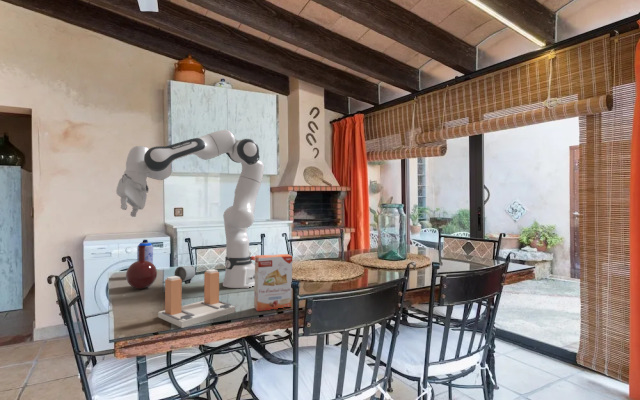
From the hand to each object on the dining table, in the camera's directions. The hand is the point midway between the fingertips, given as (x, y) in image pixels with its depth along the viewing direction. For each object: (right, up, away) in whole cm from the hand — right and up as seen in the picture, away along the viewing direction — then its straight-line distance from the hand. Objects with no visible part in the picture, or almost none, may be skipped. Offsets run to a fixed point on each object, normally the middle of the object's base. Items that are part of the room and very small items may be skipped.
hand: (128, 212), depth 151 cm
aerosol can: (-15, -36, +45) cm, 59 cm away
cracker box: (+60, -38, -6) cm, 71 cm away
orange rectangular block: (+26, -35, -19) cm, 48 cm away
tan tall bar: (+36, -35, -7) cm, 51 cm away
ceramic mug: (+8, -37, +39) cm, 54 cm away
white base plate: (+34, -37, -15) cm, 52 cm away
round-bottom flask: (-5, -37, +22) cm, 43 cm away
